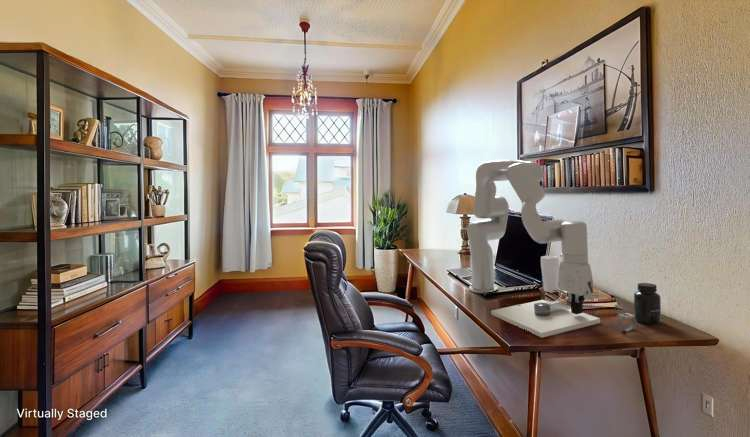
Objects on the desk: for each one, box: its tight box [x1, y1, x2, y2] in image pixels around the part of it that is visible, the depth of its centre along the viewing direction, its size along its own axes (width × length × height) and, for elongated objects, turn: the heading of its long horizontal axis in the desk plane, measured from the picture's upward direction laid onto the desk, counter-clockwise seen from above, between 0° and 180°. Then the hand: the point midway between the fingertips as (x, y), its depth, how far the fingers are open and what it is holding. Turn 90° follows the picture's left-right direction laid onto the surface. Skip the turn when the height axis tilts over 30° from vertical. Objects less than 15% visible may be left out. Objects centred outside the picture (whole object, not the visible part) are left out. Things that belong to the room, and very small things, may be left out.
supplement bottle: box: [633, 282, 662, 326], centre depth 114 cm, size 7×7×12 cm
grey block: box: [534, 298, 568, 316], centre depth 125 cm, size 12×5×3 cm, turn 109°
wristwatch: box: [616, 312, 637, 333], centre depth 109 cm, size 6×3×5 cm, turn 105°
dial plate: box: [490, 299, 601, 339], centre depth 124 cm, size 24×24×2 cm
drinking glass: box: [540, 255, 560, 292], centre depth 152 cm, size 7×7×15 cm
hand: (577, 312), depth 120 cm, fingers closed
